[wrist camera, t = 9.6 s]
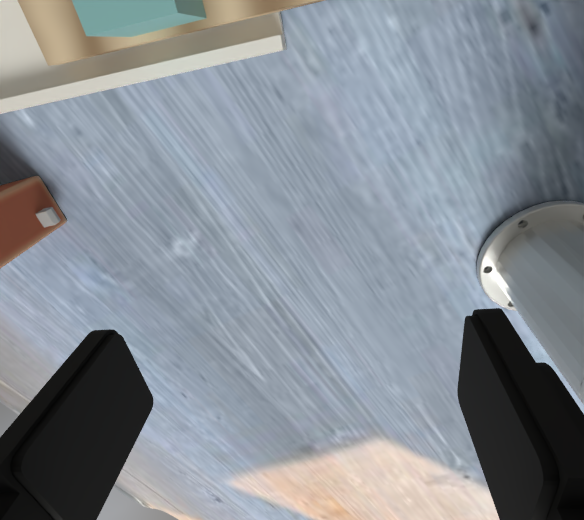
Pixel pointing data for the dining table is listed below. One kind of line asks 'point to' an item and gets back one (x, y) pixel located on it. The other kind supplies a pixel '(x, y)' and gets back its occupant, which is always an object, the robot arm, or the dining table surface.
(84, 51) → the oak strip
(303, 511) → the dining table surface
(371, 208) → the dining table surface
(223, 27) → the lane board
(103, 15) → the teal block
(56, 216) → the control panel
